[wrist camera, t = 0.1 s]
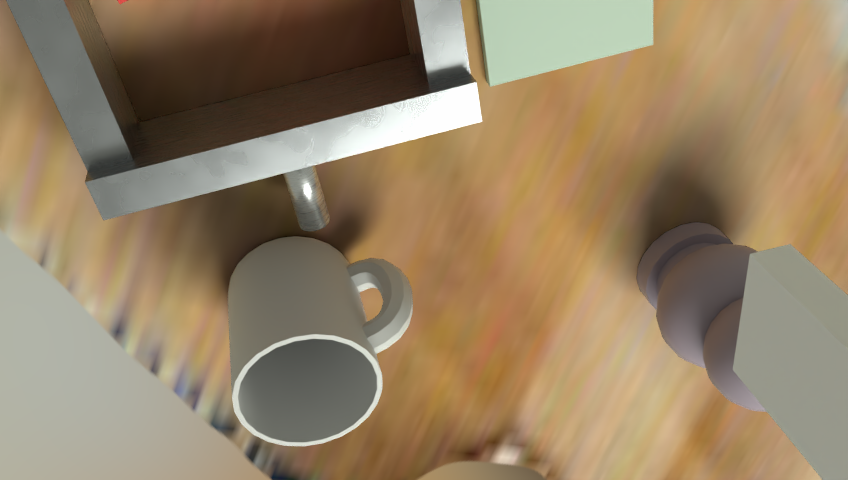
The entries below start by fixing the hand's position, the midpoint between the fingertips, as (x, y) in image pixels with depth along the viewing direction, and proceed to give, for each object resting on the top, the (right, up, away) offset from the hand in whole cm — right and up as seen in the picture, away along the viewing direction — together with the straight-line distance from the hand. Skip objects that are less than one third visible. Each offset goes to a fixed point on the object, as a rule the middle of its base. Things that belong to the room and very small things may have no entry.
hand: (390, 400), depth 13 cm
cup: (-6, +1, +32) cm, 33 cm away
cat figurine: (+17, +1, +38) cm, 42 cm away
